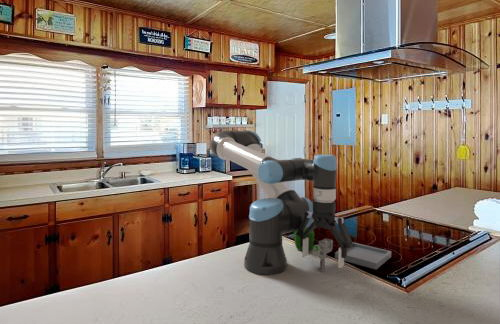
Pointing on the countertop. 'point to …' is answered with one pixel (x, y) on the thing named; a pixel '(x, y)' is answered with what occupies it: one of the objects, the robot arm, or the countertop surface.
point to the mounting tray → (366, 255)
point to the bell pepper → (310, 236)
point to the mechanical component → (323, 251)
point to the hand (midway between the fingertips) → (322, 261)
